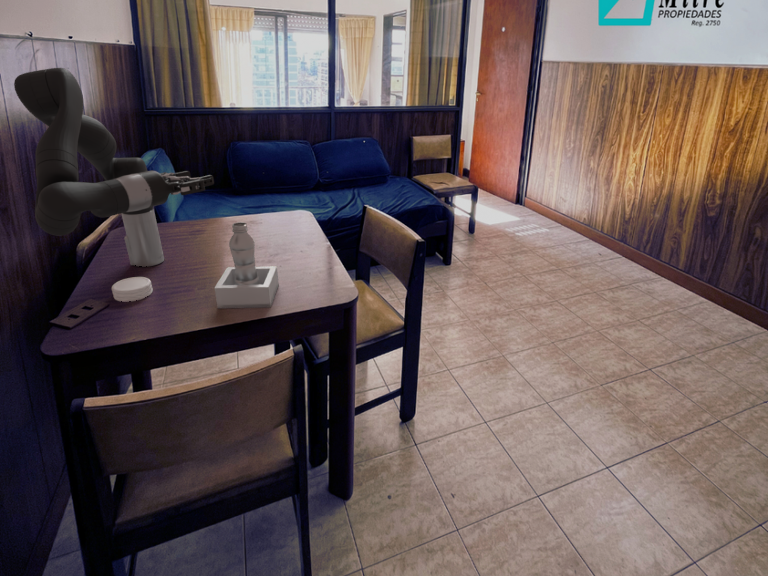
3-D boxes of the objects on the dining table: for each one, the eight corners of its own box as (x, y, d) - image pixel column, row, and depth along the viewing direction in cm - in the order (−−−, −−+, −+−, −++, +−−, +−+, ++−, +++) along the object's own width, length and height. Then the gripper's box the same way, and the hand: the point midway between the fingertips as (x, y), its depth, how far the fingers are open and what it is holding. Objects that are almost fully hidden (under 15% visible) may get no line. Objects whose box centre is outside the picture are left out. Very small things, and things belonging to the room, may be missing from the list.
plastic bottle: (255, 299, 130) (245, 229, 122) (232, 297, 132) (221, 227, 123) (265, 289, 136) (257, 221, 128) (242, 287, 137) (233, 219, 129)
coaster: (157, 286, 141) (155, 275, 140) (146, 301, 132) (144, 290, 131) (121, 288, 140) (119, 277, 138) (108, 303, 131) (105, 292, 130)
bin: (217, 308, 128) (214, 288, 125) (230, 286, 141) (227, 267, 138) (270, 307, 129) (268, 287, 126) (278, 285, 141) (276, 266, 139)
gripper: (155, 178, 99) (218, 164, 112) (116, 170, 106) (179, 158, 118) (163, 213, 102) (223, 196, 115) (124, 203, 109) (184, 188, 122)
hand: (201, 177), depth 117 cm, fingers open, 8 cm apart
